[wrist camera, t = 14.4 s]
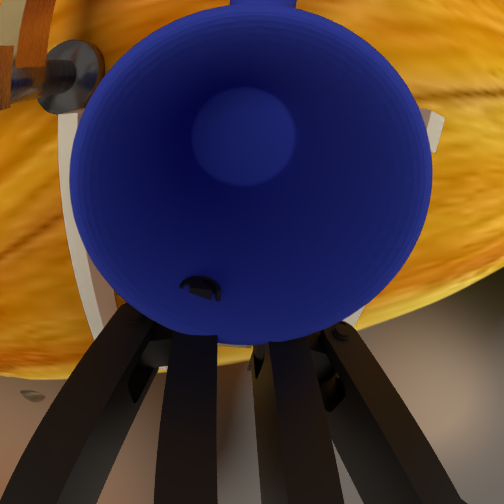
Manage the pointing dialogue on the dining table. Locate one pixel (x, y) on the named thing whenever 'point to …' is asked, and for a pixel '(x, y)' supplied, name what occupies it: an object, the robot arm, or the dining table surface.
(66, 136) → the beige rectangular bars
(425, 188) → the mug
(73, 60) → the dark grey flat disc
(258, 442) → the robot arm
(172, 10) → the dining table surface
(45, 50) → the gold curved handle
